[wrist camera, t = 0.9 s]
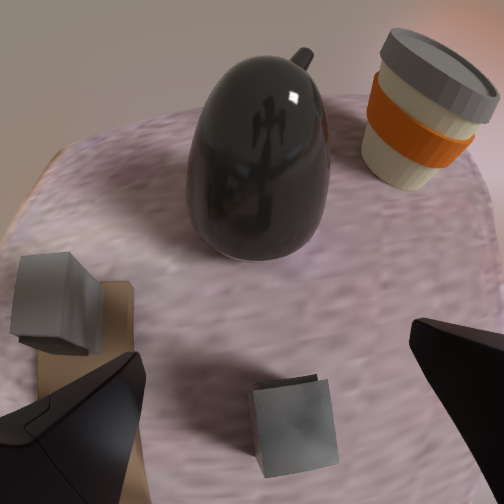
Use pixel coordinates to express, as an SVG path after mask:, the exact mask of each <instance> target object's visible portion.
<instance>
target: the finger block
mask: <svg viewBox="0 0 504 504" xmlns="http://www.w3.org/2000/svg"><path fill="white" fill-rule="evenodd" d="M253 386H254V391H249V392H247V397H248V405H249V413H250V420H251V428H252V436H253V443H254V450H255V457H256V459H257V462H258V464H259V466H260V469H261V471H262V473H263V475H264V477H265V478H270V477H277V476H283V475H289V474H294V473H299V472H304V471H309V470H313V469H318V468H322V467H326V466H330V465H334V464H338V463H339V458H338V449H337V441H336V433H335V426H334V419H333V412H332V405H331V398H330V391H329V385H328V379H325V380H320V381H318V378H317V374H314V375H309V376H303V377H296V378H290V379H283V380H276V381H269V382H261V383H257V384H255V385H253Z"/></svg>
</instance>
